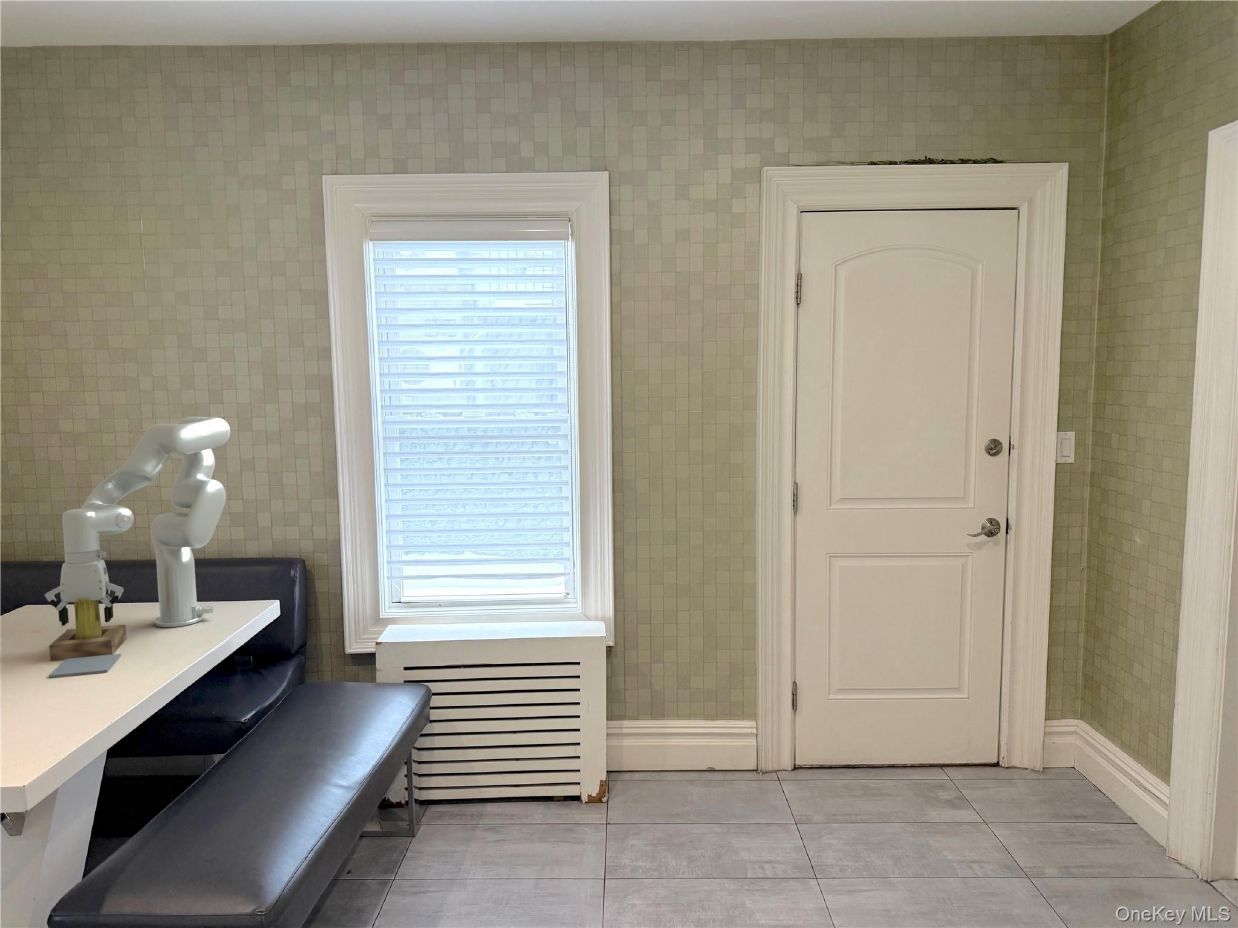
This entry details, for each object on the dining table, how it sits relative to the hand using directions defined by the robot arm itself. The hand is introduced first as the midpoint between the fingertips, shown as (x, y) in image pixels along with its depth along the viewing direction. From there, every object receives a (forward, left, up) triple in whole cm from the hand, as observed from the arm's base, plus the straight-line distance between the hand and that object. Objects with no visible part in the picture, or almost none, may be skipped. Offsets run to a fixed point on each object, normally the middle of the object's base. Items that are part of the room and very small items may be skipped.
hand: (86, 622), depth 210 cm
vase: (0, 0, -8) cm, 8 cm away
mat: (-3, +14, -7) cm, 16 cm away
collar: (0, 0, -7) cm, 7 cm away
